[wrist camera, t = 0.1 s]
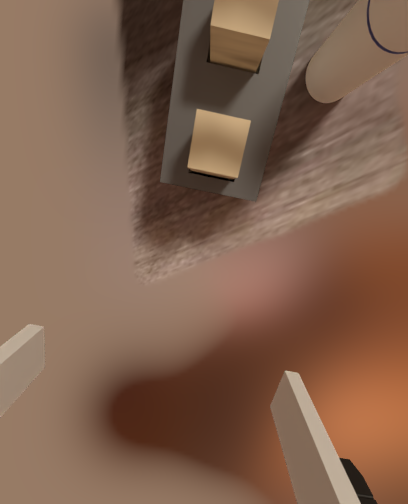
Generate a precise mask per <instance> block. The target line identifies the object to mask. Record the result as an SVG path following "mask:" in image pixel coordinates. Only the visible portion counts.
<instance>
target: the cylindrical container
mask: <svg viewBox="0 0 408 504" xmlns="http://www.w3.org/2000/svg"><path fill="white" fill-rule="evenodd" d="M407 55H408V0H358V1H357V3H356V4H355V5H354V6H353V7H352V9H351V10H350V11H349V12H348V14H347V15H346V16H345V17H344V19H343V20H342V21H341V22H340V23H339V25H338V26H337V27H336V28H335V30H334V31H333V32H332V33H331V35H330V36H329V37H328V38H327V40H326V41H325V42H324V43H323V44H322V46H321V47H320V48H319V49H318V51H317V52H316V53H315V54H314V56H313V57H312V58H311V60H310V62H309V64H308V67H307V70H306V77H305V80H306V87H307V90H308V92H309V94H310V95H311V96H312V97H313V99H315V100H316V101H318V102H321V103H332V102H335V101H337V100H339V99H341V98H342V97H344V96H345V95H347V94H348V93H350V92H351V91H353V90H354V89H356V88H357V87H359V86H360V85H362V84H364V83H365V82H367V81H368V80H370V79H371V78H373V77H374V76H376V75H377V74H379V73H380V72H382V71H384V70H385V69H387V68H388V67H390V66H391V65H393V64H394V63H396V62H397V61H399V60H401V59H402V58H404V57H405V56H407Z"/></svg>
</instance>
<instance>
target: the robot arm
mask: <svg viewBox="0 0 408 504" xmlns="http://www.w3.org/2000/svg"><path fill="white" fill-rule="evenodd" d="M44 368H45V343H44V327H43V326H38V325H32V324H29V325H27V326H26V327H25V328H24V329H22V330H21V331H20V332H19V333H17V334H16V335H15V336H13V337H12V338H11V339H9V340H8V341H7V342H6V343H4V344H3V345H2V346H0V417H1V416H2V415H3V414H4V413H5V412H6V410H7V409H8V408H9V407H10V406H11V405H12V404H13V402H14V401H15V400H16V399H17V398H18V397H19V396H20V395H21V394H22V393H23V391H24V390H25V389H26V388H27V387H28V386H29V385H30V384H31V382H32V381H33V380H34V379H35V378H36V377H37V376H38V375H39V373H40V372H41V371H42V370H43V369H44ZM270 408H271V411H272V415H273V418H274V422H275V426H276V429H277V432H278V436H279V440H280V443H281V447H282V450H283V454H284V458H285V461H286V465H287V468H288V472H289V476H290V479H291V483H292V486H293V490H294V493H295V497H296V501H297V504H377V502H376V500H374V498H373V495H372V493H371V491H370V489H369V487H368V485H367V483H366V482H365V480H364V478H363V476H362V475H361V473H360V472H359V471H358V470H357V468H356V467H355V466H354V465H353V463H352V462H351V461H350V460H349V459H343V458H339V457H338V455H337V453H336V451H335V449H334V447H333V444H332V442H331V440H330V439H329V436H328V434H327V432H326V430H325V428H324V426H323V424H322V421H321V419H320V417H319V415H318V413H317V411H316V409H315V407H314V405H313V403H312V401H311V399H310V396H309V394H308V393H307V390H306V388H305V386H304V384H303V382H302V380H301V378H300V376H299V374H298V373H296V372H290V371H285V372H284V374H283V377H282V379H281V381H280V384H279V386H278V389H277V391H276V394H275V396H274V398H273V401H272V403H271V406H270Z"/></svg>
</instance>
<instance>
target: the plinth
mask: <svg viewBox="0 0 408 504" xmlns="http://www.w3.org/2000/svg"><path fill="white" fill-rule="evenodd" d="M308 4H309V0H279V2H278V7H277V11H276V15H275V20H274V24H273V28H272V32H271V37H270V40H269V43H268V45H267V47H266V50H265V52H264V54H263V57H262V59H261V61H260V64H259V66H258V68H257V71H256V73H251V72H247V71H242V70H238V69H234V68H229V67H225V66H221V65H216V64H212V63H210V25H211V19H212V12H213V6H214V0H183V6H182V14H181V22H180V30H179V37H178V45H177V53H176V61H175V68H174V76H173V84H172V92H171V100H170V107H169V115H168V123H167V131H166V139H165V146H164V154H163V162H162V170H161V177H160V182H163V183H168V184H172V185H177V186H182V187H187V188H192V189H197V190H202V191H206V192H211V193H216V194H221V195H226V196H231V197H236V198H240V199H245V200H250V201H255V202H256V200H257V197H258V193H259V189H260V185H261V181H262V178H263V174H264V170H265V166H266V163H267V159H268V155H269V151H270V148H271V144H272V140H273V136H274V132H275V129H276V125H277V121H278V117H279V114H280V110H281V106H282V102H283V99H284V95H285V91H286V87H287V83H288V80H289V76H290V72H291V68H292V65H293V61H294V57H295V53H296V49H297V46H298V42H299V38H300V34H301V31H302V27H303V23H304V19H305V16H306V12H307V8H308ZM197 109H201V110H205V111H210V112H214V113H219V114H223V115H228V116H232V117H237V118H241V119H246V120H250V121H251V123H250V127H249V132H248V136H247V140H246V144H245V149H244V153H243V157H242V162H241V166H240V170H239V175H238V178H235V179H231V180H229V179H228V181H226V180H221V179H216V178H211V177H207V176H202V175H197V174H194V172H192V171H191V170H190V169H189V168H188V160H189V154H190V148H191V142H192V136H193V130H194V123H195V117H196V111H197Z"/></svg>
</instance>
